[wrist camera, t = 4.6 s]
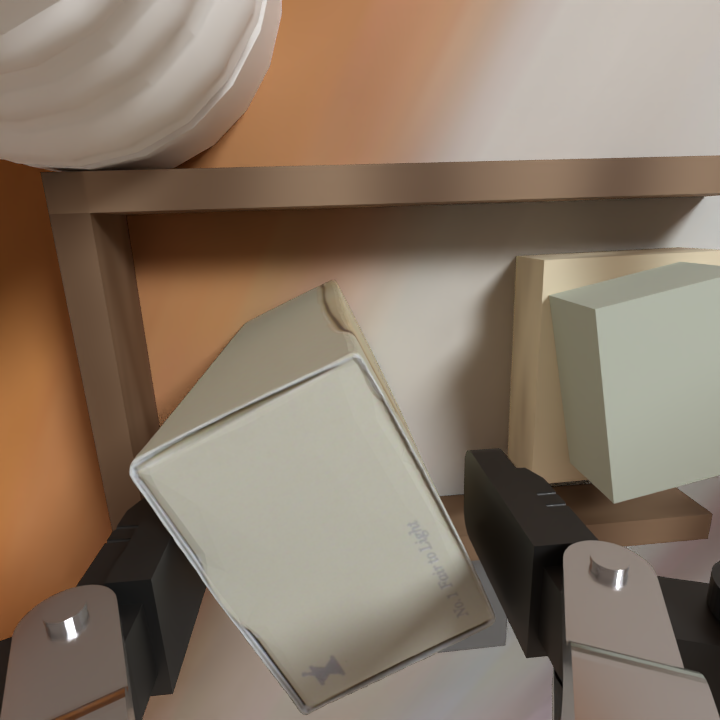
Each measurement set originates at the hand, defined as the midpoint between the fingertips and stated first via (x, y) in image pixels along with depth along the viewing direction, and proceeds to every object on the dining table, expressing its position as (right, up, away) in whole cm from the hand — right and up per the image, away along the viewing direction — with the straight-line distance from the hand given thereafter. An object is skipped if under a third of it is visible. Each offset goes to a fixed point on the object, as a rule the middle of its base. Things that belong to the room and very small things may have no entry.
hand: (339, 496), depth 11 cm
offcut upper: (+11, +3, +7) cm, 13 cm away
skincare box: (-1, +3, +9) cm, 10 cm away
